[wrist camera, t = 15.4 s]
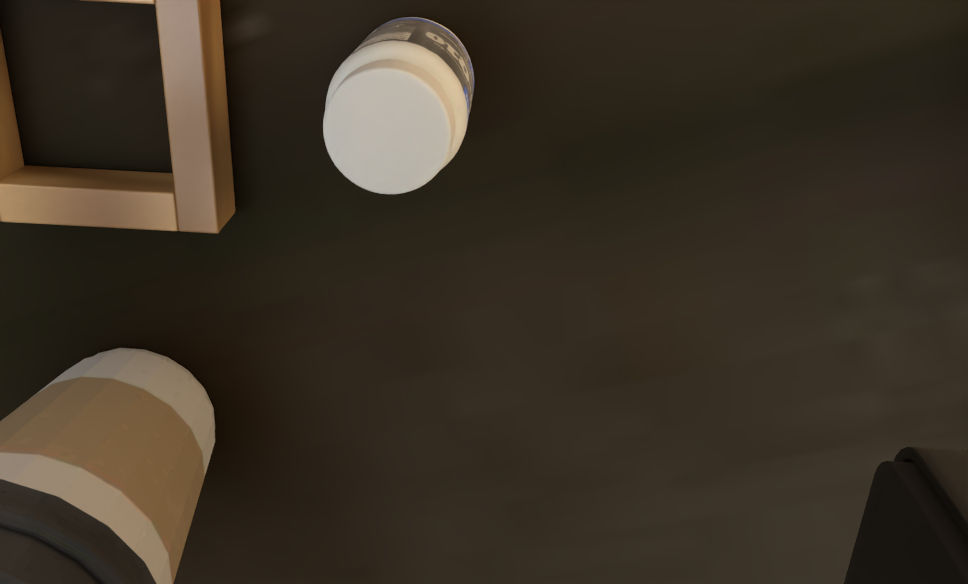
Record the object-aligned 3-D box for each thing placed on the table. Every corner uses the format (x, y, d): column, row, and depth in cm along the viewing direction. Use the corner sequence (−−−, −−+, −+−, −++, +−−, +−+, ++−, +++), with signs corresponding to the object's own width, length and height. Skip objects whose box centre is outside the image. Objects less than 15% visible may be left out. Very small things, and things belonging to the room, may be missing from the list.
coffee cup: (158, 548, 45) (7, 837, 32) (-32, 403, 42) (-290, 657, 29) (312, 424, 42) (217, 688, 28) (120, 254, 39) (-93, 463, 25)
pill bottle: (493, 111, 36) (488, 176, 28) (385, 154, 36) (351, 229, 29) (445, -6, 34) (426, 30, 26) (333, 42, 35) (282, 91, 27)
